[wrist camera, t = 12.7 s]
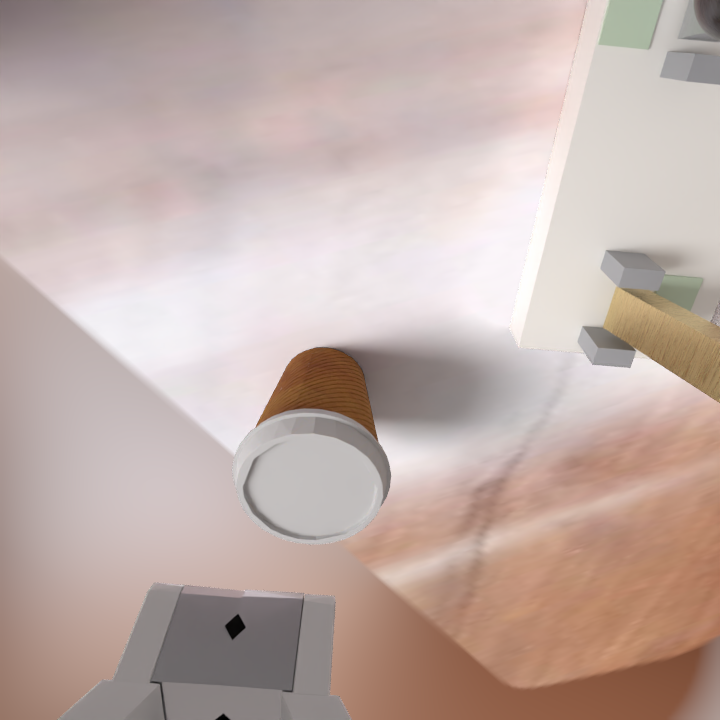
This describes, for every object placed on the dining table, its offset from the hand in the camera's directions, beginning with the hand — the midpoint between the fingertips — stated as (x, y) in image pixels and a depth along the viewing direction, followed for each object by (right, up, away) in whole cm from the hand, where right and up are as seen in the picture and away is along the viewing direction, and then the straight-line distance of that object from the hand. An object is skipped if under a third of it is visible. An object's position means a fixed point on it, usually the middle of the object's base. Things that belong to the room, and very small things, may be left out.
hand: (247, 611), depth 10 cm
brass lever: (+18, +8, +27) cm, 33 cm away
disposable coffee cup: (-1, +3, +35) cm, 35 cm away
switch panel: (+20, +16, +26) cm, 37 cm away
